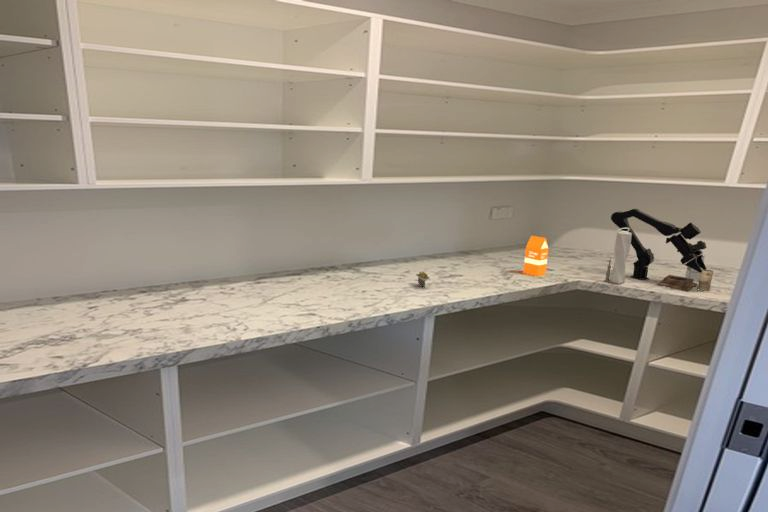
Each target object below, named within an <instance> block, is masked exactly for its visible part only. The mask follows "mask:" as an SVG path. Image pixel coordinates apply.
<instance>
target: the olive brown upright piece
mask: <svg viewBox="0 0 768 512" xmlns="http://www.w3.org/2000/svg"><path fill="white" fill-rule="evenodd" d="M415 277H417V279H418V280H417V284H418V283H419V284H420V285H421V286H420V285H419V284H418V285H419V286H420V287H422V286H423V287H424V288H425V286H426V282H427V281H429V280H430V277H429V276H428V274H427V273H426V272H424V271H419V273H416V274H415ZM423 287H422V288H423ZM424 288H423V289H424Z"/></svg>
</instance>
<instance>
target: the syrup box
mask: <svg viewBox="0 0 768 512" xmlns="http://www.w3.org/2000/svg"><path fill="white" fill-rule="evenodd" d="M702 254H703V253H702ZM702 254H700V255H702ZM705 257H706V255H705V254H703V256H702V260H703V262H704V263H705ZM701 269H702V268H701ZM685 278H690V279H693V282H697V281H699V278H700V272H698V271H696V270H694V269H692V268H690V267H688V266H686V271H685Z"/></svg>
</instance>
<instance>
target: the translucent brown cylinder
mask: <svg viewBox="0 0 768 512" xmlns="http://www.w3.org/2000/svg"><path fill="white" fill-rule="evenodd" d="M701 270H702V272H701V273H700V278H699V282H698V284H697V290H698V289H699V290H698V291H700V290H702V291H701V292H704V291H709V292H710V291H711V290H710V289H711V284H712V280H713V276H714V275H713V274H714V270H710V269H701Z"/></svg>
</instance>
